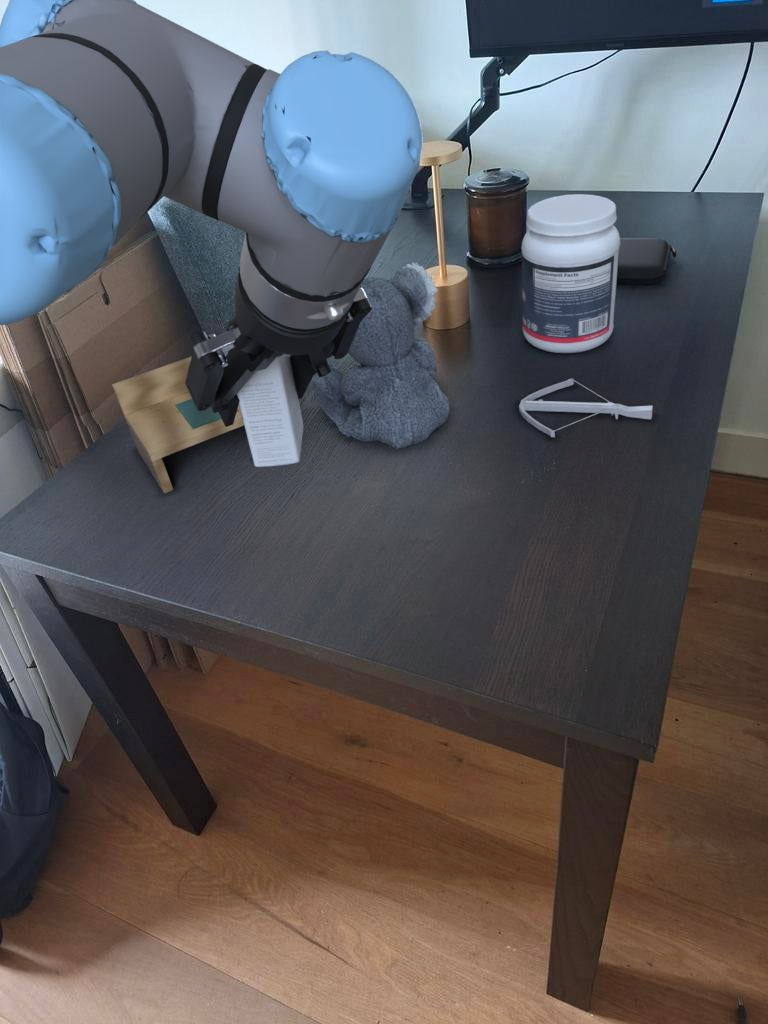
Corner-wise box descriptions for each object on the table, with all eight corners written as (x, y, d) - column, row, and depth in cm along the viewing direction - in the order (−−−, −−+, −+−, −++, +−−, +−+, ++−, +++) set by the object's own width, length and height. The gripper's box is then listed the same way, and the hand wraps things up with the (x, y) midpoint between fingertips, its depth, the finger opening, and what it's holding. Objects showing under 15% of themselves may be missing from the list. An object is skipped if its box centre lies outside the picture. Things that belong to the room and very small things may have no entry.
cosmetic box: (260, 433, 72) (229, 314, 65) (307, 427, 72) (281, 307, 64) (253, 470, 68) (219, 347, 60) (303, 465, 67) (275, 340, 60)
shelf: (164, 493, 92) (137, 424, 86) (137, 450, 100) (111, 384, 94) (297, 439, 98) (281, 370, 92) (261, 402, 106) (244, 337, 100)
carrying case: (669, 289, 118) (677, 253, 129) (672, 270, 116) (679, 235, 127) (599, 286, 122) (612, 252, 132) (600, 268, 120) (613, 234, 130)
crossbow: (509, 440, 93) (507, 426, 92) (531, 388, 102) (530, 374, 101) (645, 447, 87) (646, 432, 86) (657, 391, 96) (657, 377, 95)
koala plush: (429, 372, 107) (416, 233, 95) (481, 434, 94) (474, 282, 81) (312, 404, 104) (283, 265, 92) (347, 473, 91) (319, 321, 78)
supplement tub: (536, 313, 117) (537, 190, 106) (621, 320, 112) (632, 192, 101) (510, 353, 109) (508, 223, 97) (601, 362, 104) (610, 227, 92)
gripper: (180, 382, 45) (176, 475, 67) (450, 286, 51) (366, 399, 73) (127, 270, 45) (141, 399, 67) (402, 188, 52) (332, 330, 73)
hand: (258, 399), depth 70 cm, fingers closed on cosmetic box, 6 cm apart
